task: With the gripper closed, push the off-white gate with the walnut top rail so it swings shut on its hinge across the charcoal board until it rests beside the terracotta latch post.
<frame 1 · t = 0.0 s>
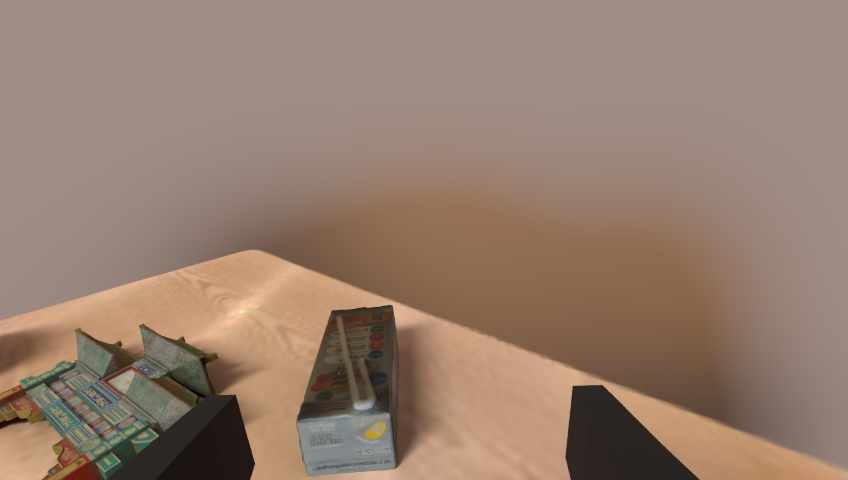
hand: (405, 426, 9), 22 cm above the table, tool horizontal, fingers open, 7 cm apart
beverage carton: (361, 403, 44), on the table
miniature gate: (49, 456, 39), on the table
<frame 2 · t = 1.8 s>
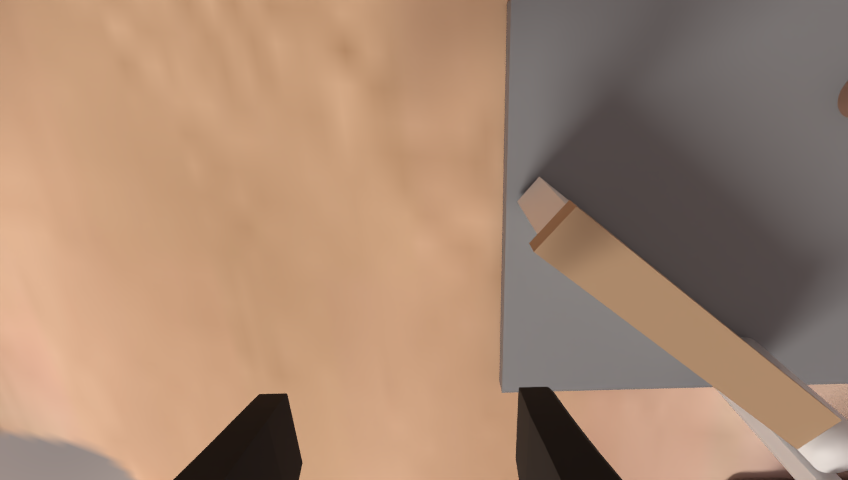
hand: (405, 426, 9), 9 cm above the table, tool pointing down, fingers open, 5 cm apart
gate frame: (779, 213, 17), on the table
gate: (678, 315, 15), point 4 cm above the table, hinge at 50.0°
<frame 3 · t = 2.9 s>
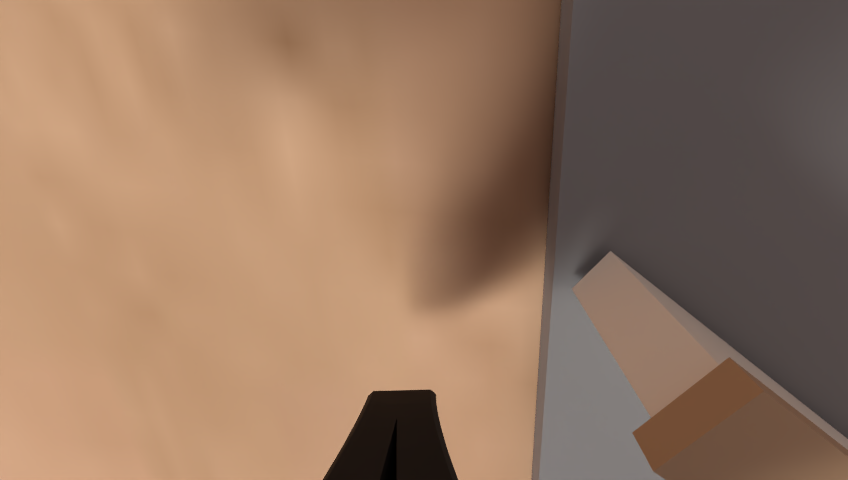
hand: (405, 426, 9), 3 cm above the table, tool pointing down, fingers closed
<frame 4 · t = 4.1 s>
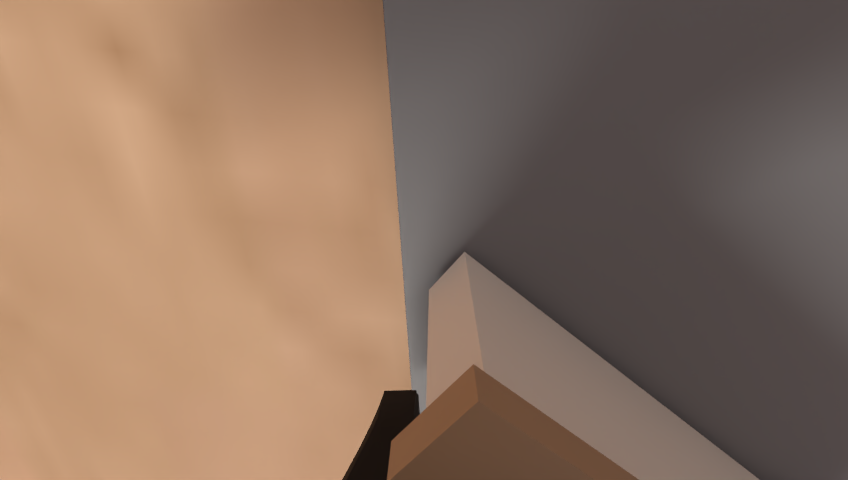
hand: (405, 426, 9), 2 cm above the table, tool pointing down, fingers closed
gate frame: (847, 312, 11), on the table
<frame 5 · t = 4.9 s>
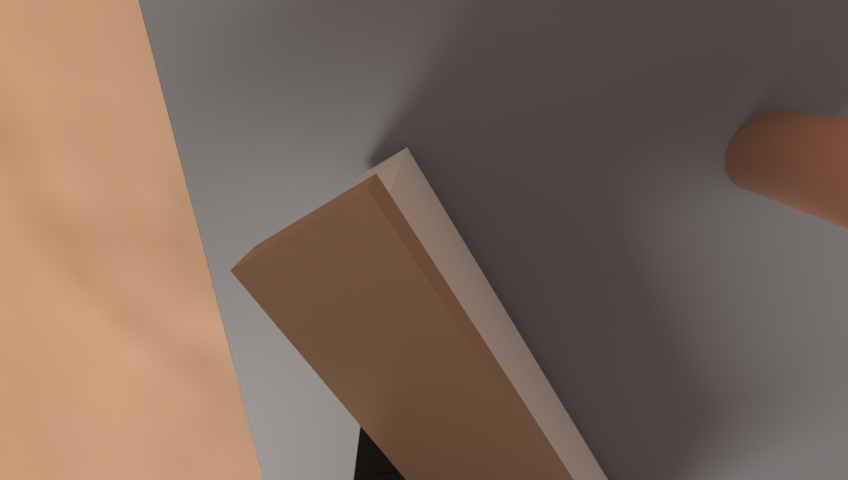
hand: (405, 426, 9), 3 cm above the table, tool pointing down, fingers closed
gate frame: (659, 322, 11), on the table
gate: (544, 471, 8), point 4 cm above the table, hinge at 28.2°, touching gripper
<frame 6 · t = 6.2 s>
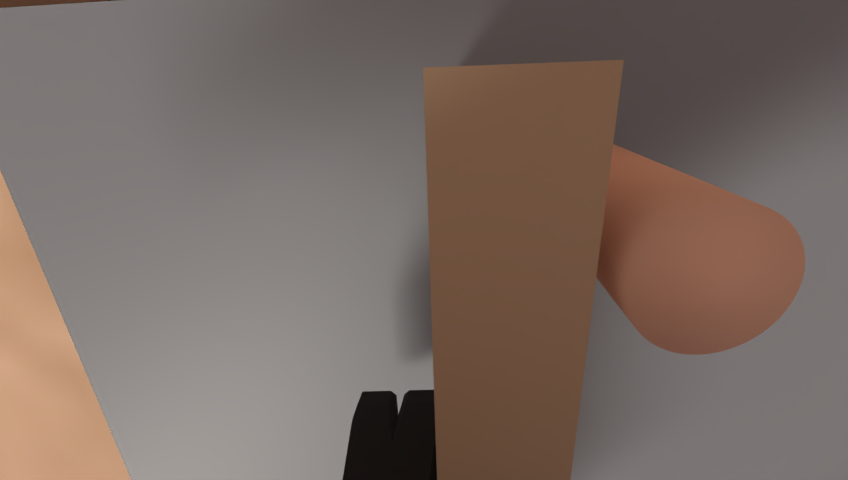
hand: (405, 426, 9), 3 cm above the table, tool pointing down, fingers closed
gate frame: (503, 330, 11), on the table
gate: (481, 449, 8), point 4 cm above the table, hinge at -0.8°, touching gripper
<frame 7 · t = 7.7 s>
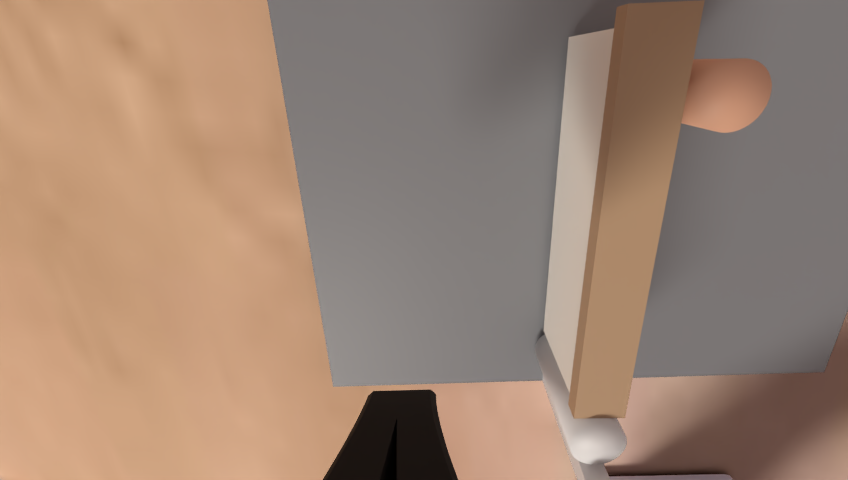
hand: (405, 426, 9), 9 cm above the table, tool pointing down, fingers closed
gate frame: (583, 205, 17), on the table
gate: (591, 247, 14), point 4 cm above the table, hinge at -1.0°
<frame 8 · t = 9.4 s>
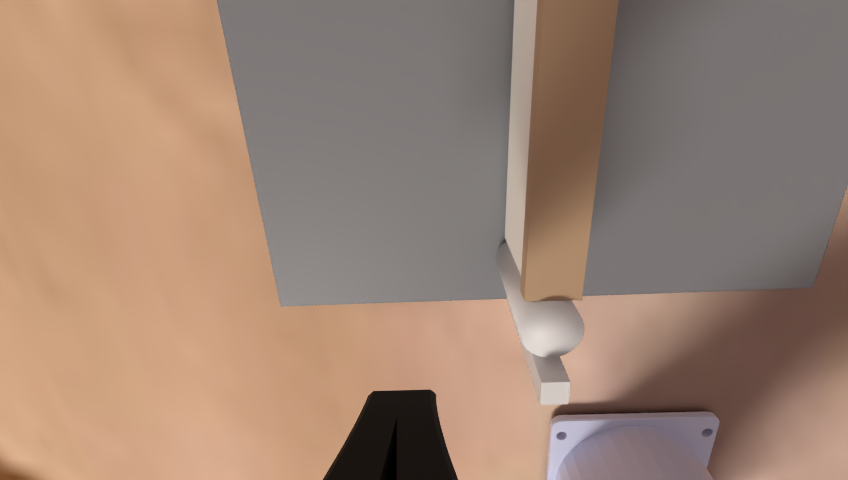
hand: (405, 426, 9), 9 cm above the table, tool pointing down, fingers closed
gate frame: (546, 94, 15), on the table
gate: (545, 111, 12), point 4 cm above the table, hinge at -1.0°
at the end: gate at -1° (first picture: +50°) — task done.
